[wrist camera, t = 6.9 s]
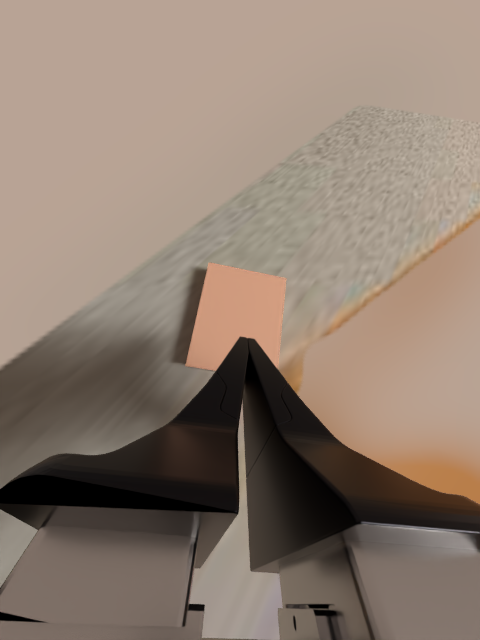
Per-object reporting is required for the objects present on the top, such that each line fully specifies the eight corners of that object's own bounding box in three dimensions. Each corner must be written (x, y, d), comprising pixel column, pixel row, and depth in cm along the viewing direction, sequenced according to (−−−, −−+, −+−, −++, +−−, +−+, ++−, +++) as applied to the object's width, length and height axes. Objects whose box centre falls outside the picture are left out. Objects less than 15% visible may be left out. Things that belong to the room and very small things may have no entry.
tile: (276, 380, 15) (286, 278, 18) (185, 365, 15) (208, 262, 17) (269, 377, 17) (278, 287, 20) (189, 365, 17) (209, 273, 19)
